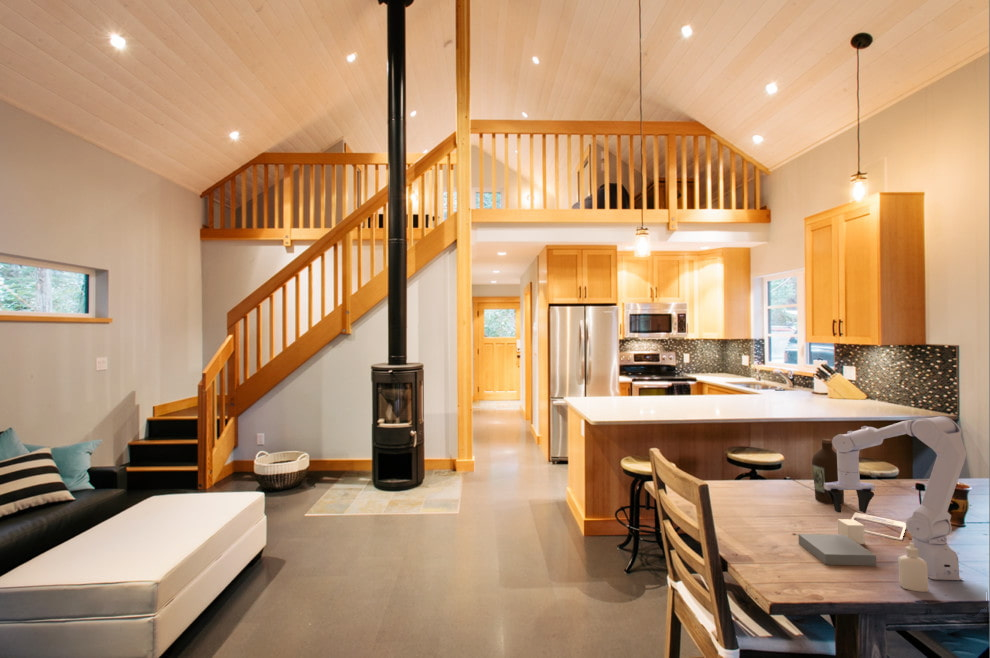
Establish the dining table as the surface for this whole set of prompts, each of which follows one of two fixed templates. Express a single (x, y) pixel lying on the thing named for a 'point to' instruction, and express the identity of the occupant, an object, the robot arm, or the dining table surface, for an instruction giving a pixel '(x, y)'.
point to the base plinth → (837, 549)
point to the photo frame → (881, 521)
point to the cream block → (852, 530)
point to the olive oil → (825, 471)
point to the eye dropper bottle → (913, 570)
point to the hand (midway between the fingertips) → (850, 511)
